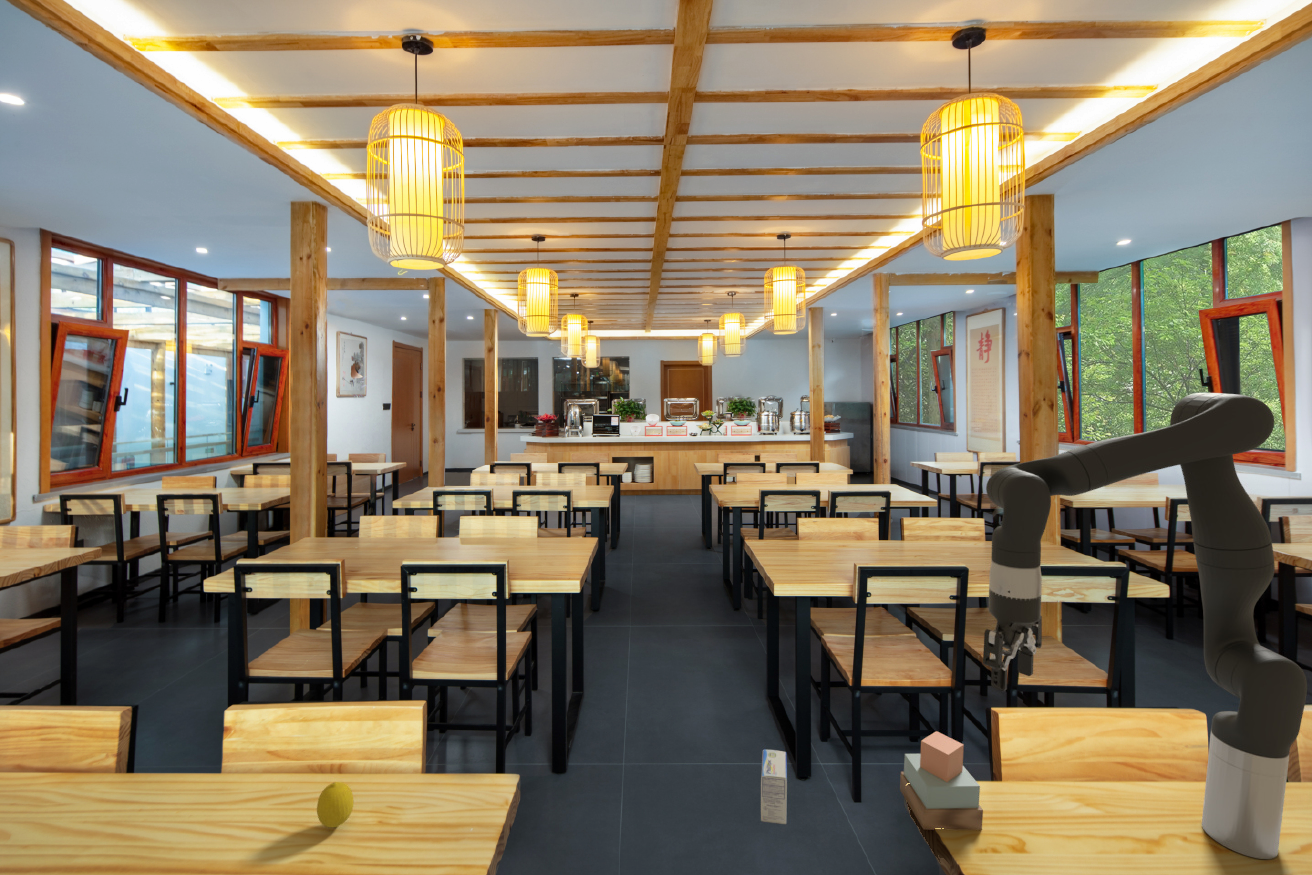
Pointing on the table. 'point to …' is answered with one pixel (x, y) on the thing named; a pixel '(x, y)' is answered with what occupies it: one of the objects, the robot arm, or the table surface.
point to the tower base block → (941, 812)
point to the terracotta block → (941, 756)
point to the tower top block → (941, 787)
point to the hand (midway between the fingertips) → (1012, 681)
